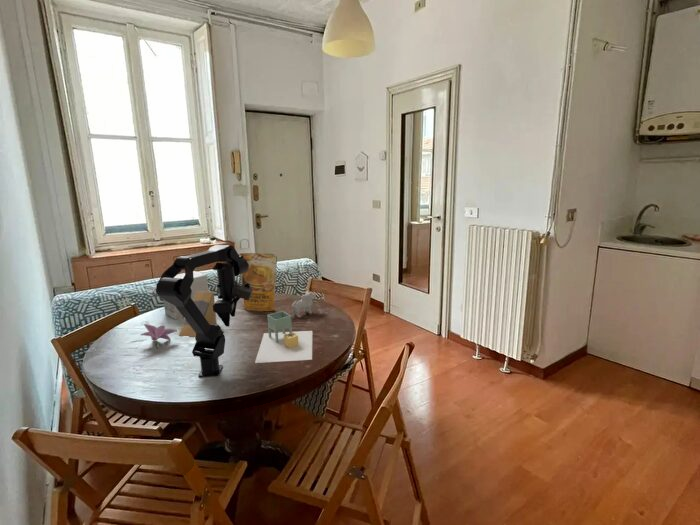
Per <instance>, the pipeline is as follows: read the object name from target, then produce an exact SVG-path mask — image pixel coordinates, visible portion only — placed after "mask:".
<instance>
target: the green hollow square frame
mask: <svg viewBox="0 0 700 525" xmlns="http://www.w3.org/2000/svg"><path fill="white" fill-rule="evenodd" d="M266 317H267V318H266V319H267V329H268V331H267V333H269V337H271V333H272V331H274V333H275V339H276V343H278V333H279V332H282V333H285V332H286V330H287V329H289V330H288V332H289V333H292V332H293V326H292V325H293V324H292V322H293V321H292V315H291V314H289V313H287V312H286V311H284V310H281V311H277V312H273V313H270V314H269V313H268V314H267V315H266Z"/></svg>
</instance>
